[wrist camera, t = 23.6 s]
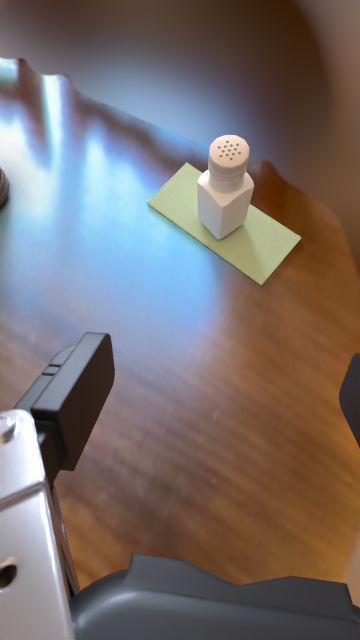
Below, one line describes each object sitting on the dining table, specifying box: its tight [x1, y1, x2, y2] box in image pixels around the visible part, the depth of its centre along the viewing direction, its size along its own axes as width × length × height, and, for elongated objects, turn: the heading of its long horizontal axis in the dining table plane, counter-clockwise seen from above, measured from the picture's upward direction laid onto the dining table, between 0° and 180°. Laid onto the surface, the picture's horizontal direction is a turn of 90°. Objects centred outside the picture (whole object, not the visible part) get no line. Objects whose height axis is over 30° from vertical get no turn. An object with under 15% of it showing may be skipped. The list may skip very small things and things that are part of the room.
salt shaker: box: [197, 135, 254, 240], centre depth 28 cm, size 4×4×10 cm
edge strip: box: [147, 163, 301, 286], centre depth 33 cm, size 16×7×1 cm, turn 49°
